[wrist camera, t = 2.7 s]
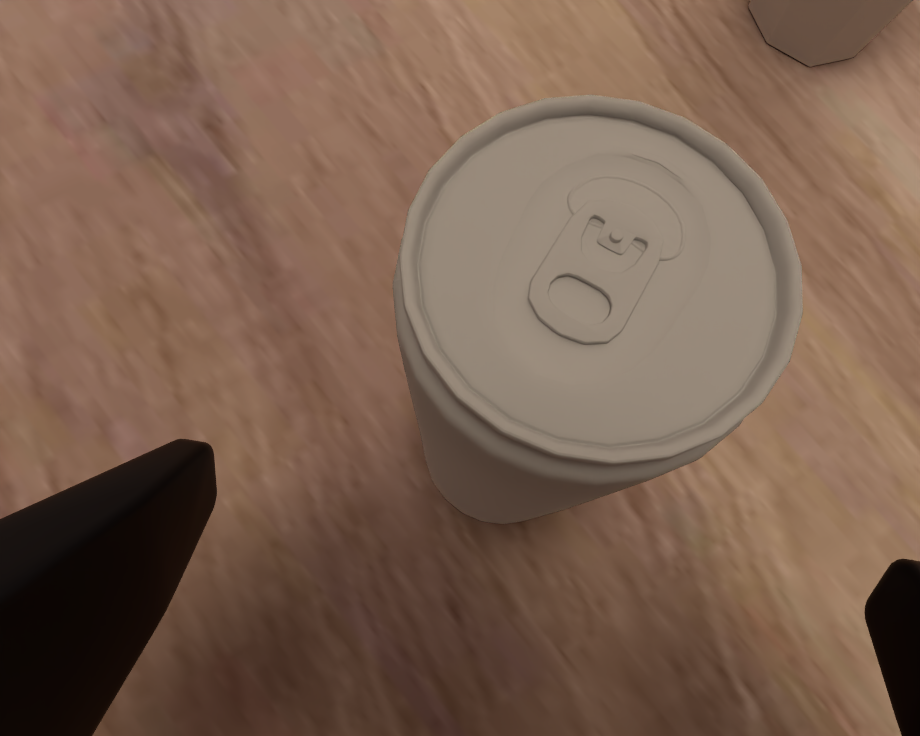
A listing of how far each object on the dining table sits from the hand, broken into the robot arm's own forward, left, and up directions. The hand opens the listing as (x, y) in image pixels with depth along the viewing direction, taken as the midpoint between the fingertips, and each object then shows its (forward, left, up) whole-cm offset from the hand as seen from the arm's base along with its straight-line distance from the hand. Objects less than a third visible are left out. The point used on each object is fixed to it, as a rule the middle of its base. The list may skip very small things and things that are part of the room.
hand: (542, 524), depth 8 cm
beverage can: (+2, -2, -10) cm, 10 cm away
